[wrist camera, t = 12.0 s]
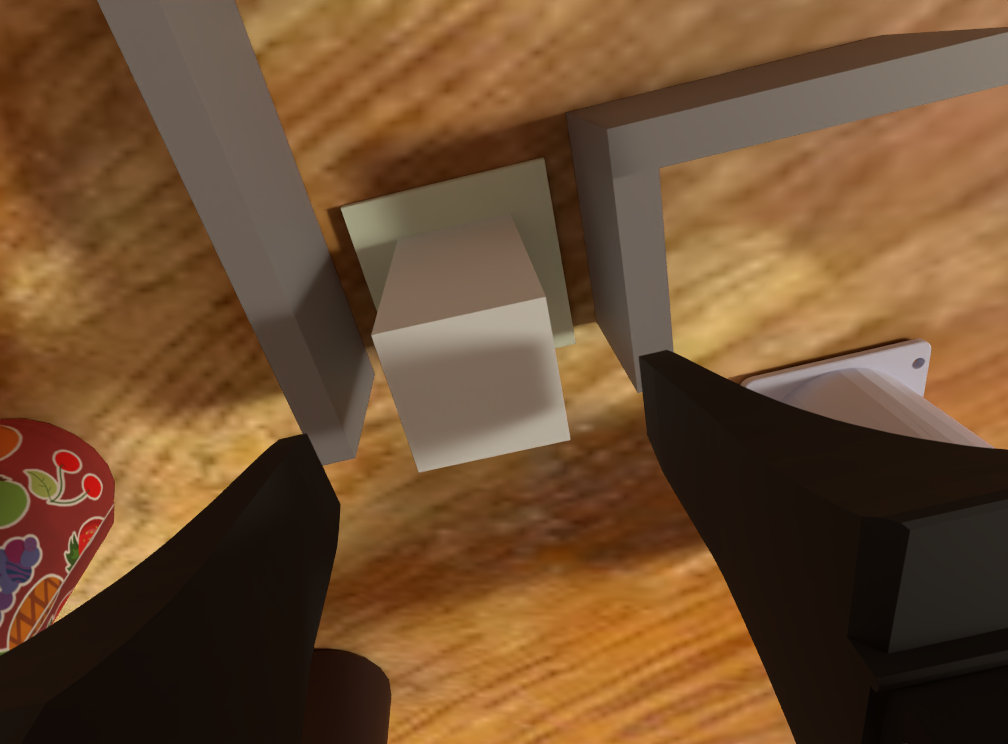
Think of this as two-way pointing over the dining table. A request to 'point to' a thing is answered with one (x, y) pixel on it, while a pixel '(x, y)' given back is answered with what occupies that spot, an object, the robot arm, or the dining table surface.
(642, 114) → the rails
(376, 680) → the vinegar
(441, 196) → the mat
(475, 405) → the block
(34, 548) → the smoothie
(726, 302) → the dining table surface
